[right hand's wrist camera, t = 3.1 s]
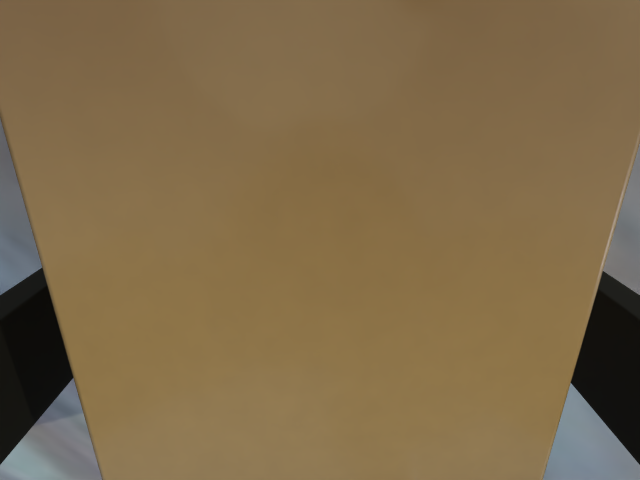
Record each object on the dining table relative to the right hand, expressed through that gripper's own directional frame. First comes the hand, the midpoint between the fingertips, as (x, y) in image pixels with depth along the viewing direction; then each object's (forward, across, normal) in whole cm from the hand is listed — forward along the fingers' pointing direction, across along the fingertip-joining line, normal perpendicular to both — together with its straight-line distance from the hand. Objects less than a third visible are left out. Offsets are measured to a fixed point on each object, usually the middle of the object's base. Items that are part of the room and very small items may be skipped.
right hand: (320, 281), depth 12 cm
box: (+5, 0, -7) cm, 9 cm away
